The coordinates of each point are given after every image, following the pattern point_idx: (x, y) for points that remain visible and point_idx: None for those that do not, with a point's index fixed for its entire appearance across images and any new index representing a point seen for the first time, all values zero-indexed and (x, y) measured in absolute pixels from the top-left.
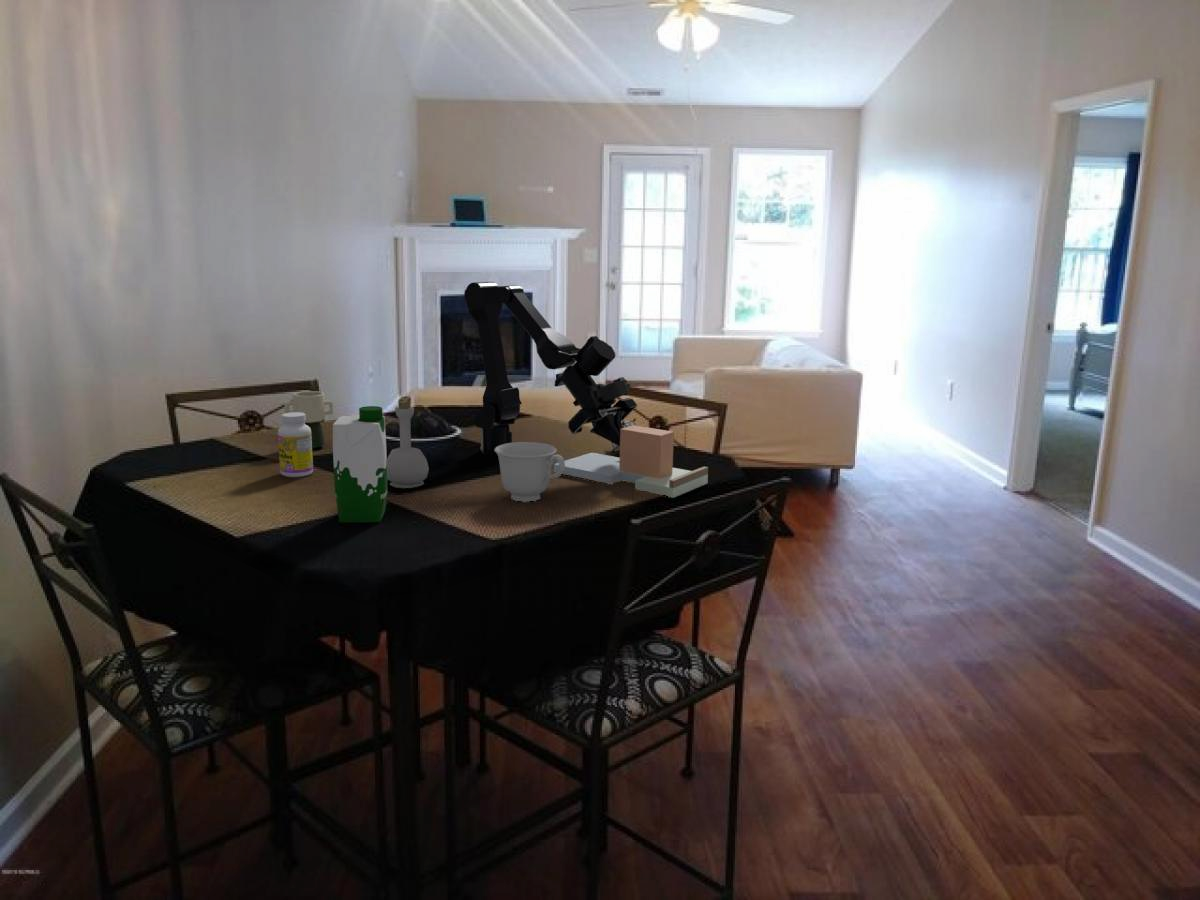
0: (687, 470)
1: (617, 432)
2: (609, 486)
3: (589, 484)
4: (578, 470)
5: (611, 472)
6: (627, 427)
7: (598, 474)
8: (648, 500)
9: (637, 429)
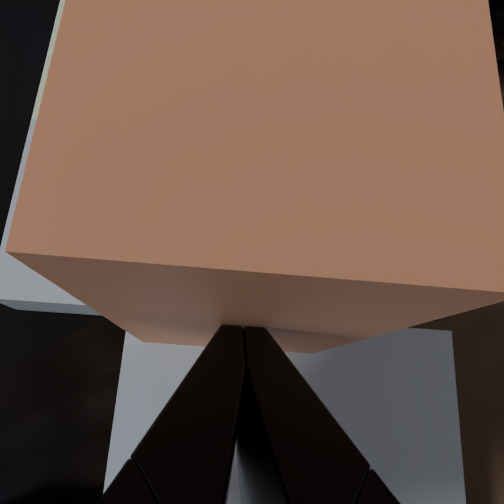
0: (58, 20)
1: (341, 459)
2: (446, 329)
3: (494, 453)
4: None
5: (387, 372)
6: (311, 246)
7: (456, 438)
8: (498, 74)
9: (335, 30)
